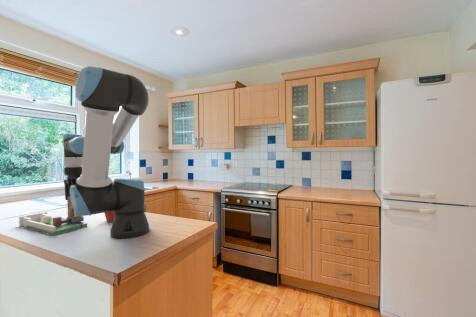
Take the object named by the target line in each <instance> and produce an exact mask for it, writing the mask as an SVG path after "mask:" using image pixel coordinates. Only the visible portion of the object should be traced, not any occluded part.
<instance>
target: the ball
mask: <svg viewBox="0 0 476 317" xmlns="http://www.w3.org/2000/svg"><path fill="white" fill-rule="evenodd" d="M52 219H53V217H52V215H50V214H47V215H45V216H43V217H42V219H41V221H42V223H44V224H48V223H50V222H51V221H52Z"/></svg>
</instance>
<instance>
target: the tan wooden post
mask: <svg viewBox="0 0 476 317" xmlns="http://www.w3.org/2000/svg"><path fill="white" fill-rule="evenodd" d="M66 201H67V202H66V203H67V217H66V218H65V219H66V220H61V218H62V216H55V217H52V219H53V226H55V227H56V226H60V225H61V224H63V223H67V222H70V223H77V222H84V220H85V219H84V216H77V217H74V210H73V207H72V203H71V198H70V196H69V197H67V200H66Z"/></svg>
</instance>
